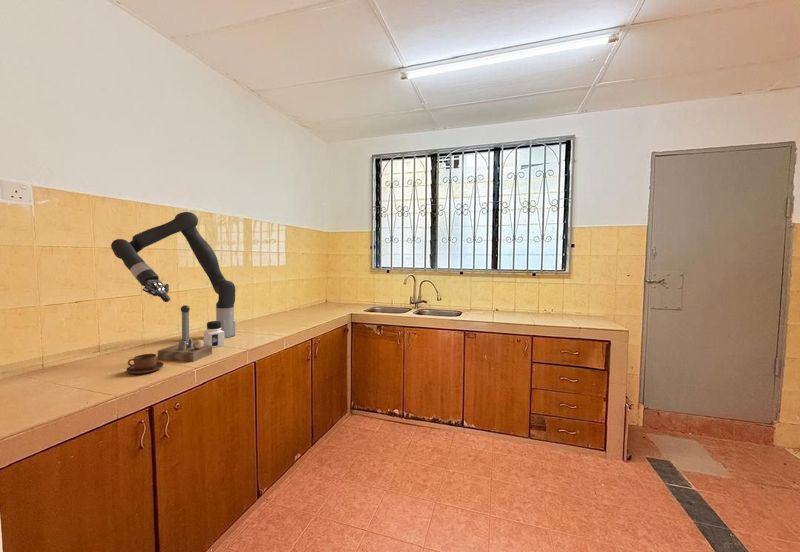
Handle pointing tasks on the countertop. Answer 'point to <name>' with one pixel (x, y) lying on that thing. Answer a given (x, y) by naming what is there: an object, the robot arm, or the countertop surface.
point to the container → (214, 334)
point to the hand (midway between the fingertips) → (168, 300)
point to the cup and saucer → (144, 364)
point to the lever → (185, 324)
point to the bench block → (185, 351)
